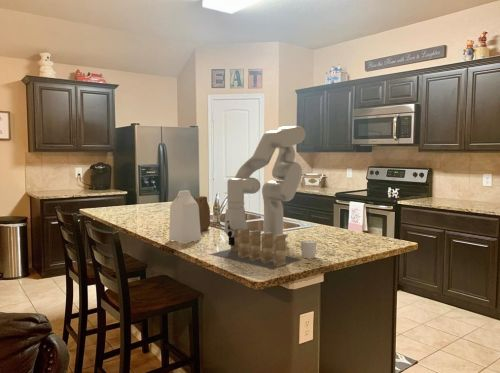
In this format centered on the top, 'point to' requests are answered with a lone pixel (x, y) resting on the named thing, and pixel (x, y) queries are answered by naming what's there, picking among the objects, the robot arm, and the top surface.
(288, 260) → the mat
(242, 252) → the domino
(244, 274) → the top surface
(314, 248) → the shot glass
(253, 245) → the domino
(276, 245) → the domino
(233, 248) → the end domino
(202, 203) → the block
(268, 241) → the domino
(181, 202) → the milk
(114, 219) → the top surface
